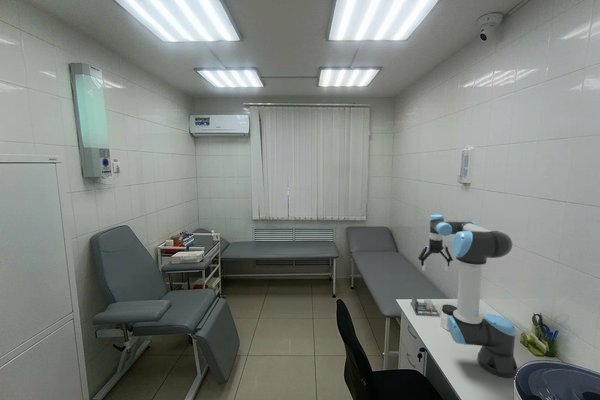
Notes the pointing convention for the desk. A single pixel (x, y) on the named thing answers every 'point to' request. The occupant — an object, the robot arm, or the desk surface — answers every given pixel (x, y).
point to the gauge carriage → (428, 304)
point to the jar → (446, 315)
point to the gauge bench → (422, 308)
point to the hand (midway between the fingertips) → (434, 270)
